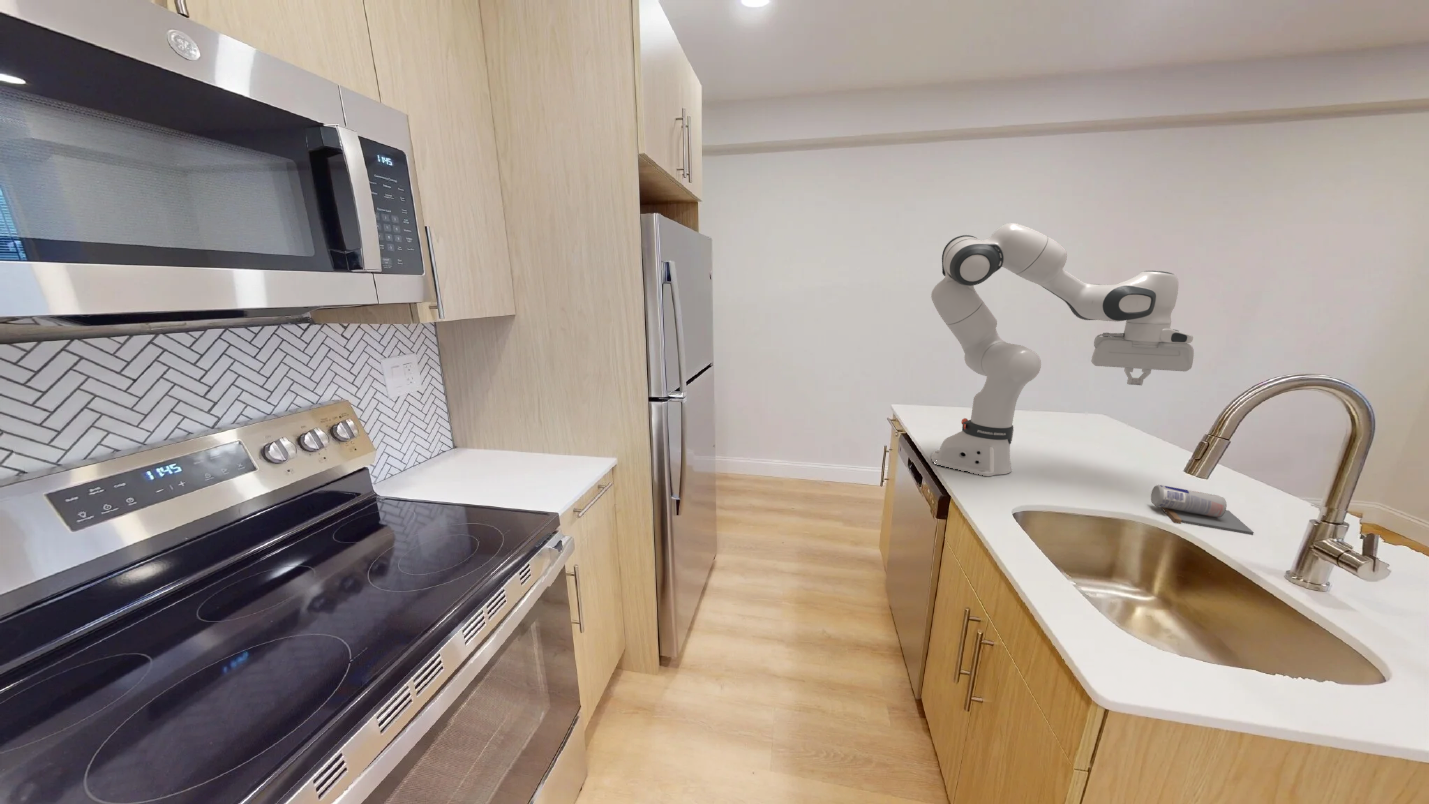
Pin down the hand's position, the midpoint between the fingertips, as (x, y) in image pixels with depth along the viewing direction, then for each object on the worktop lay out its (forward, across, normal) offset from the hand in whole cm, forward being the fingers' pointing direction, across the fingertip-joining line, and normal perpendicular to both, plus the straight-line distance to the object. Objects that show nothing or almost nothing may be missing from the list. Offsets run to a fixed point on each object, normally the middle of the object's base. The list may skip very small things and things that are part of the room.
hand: (1134, 384), depth 126 cm
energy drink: (+25, +4, -17) cm, 30 cm away
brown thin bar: (+29, +8, -17) cm, 34 cm away
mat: (+29, +14, -16) cm, 36 cm away
